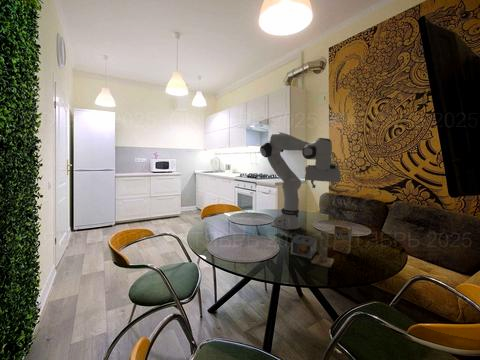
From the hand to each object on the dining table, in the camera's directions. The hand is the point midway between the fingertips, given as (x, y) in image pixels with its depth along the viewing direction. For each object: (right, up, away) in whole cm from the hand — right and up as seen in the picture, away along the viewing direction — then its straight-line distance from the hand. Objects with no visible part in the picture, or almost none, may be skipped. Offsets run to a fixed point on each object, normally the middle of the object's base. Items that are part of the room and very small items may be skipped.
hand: (321, 188), depth 139 cm
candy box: (+12, -38, 0) cm, 40 cm away
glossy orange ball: (-12, -36, -3) cm, 38 cm away
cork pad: (-4, -39, -14) cm, 42 cm away
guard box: (-12, -38, -3) cm, 39 cm away
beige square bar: (-4, -39, -14) cm, 41 cm away
